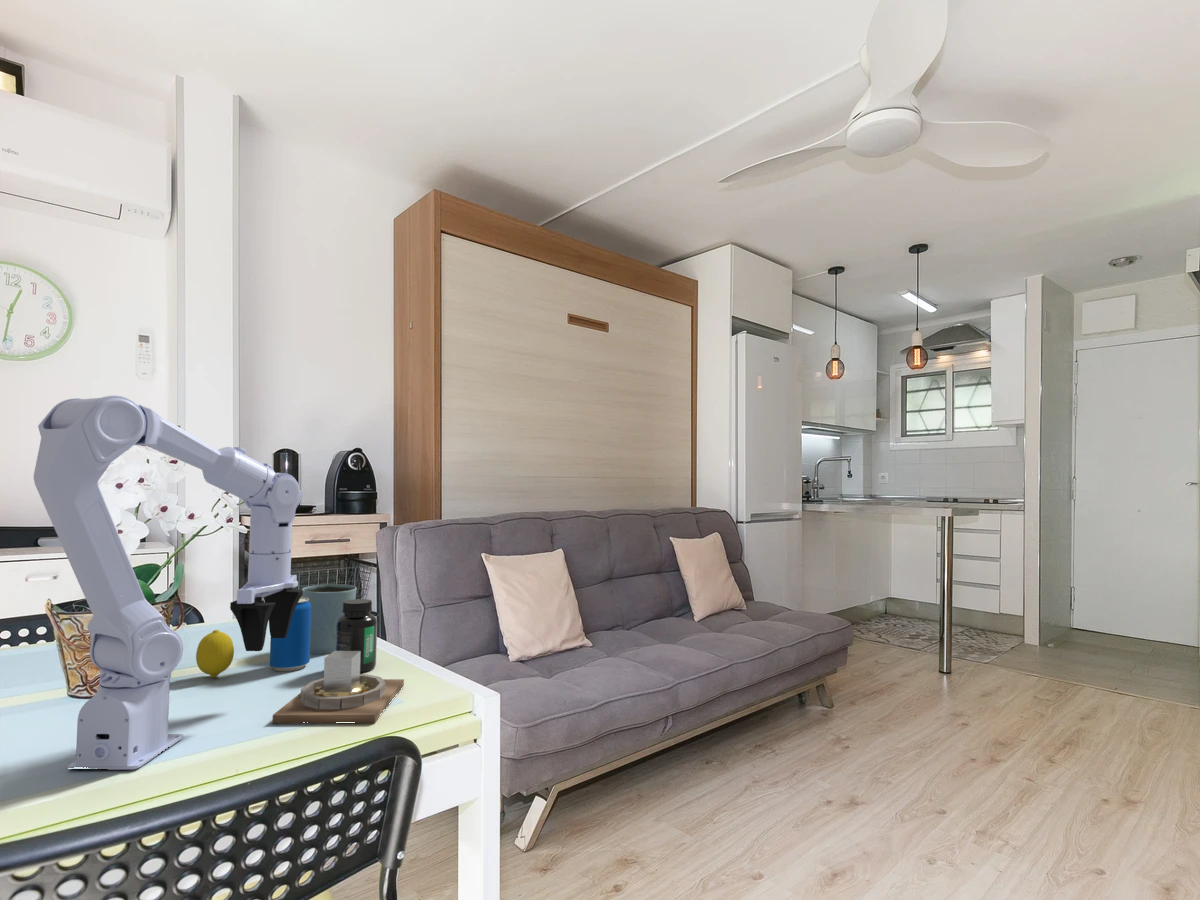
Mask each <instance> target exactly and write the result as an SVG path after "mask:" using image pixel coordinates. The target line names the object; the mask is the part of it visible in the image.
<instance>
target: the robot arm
mask: <svg viewBox="0 0 1200 900" xmlns="http://www.w3.org/2000/svg"><path fill="white" fill-rule="evenodd" d="M37 427H38V431H39V434H40V440H39V441H40V443H39V447H38V448H39V449H38V451H37V452H38V453H37V456H36V457H37V458H36V461H35V467H34V471H33V482H34V486H35V488H36V489H37V490H36V491H37V492H38V494H39V497H40V499H41V502H42V504H43V505H44V508H45V510H46V513H47V515H48V517H49V519H50V521H51V523H52V526H53V528H54V530H55V533H56V535H57V537H58V540H59V542H60V544H61V547H62V548H63V550H64V553H65V555H66V558H67V560H68V561H69V564H70V566H71V568H72V571H73V574H74V575H75V578H76V580H77V583H78V585H79V586H80V589H81V591H82V593H83V596H84V598H85V600H86V603H87V605H88V607H89V609H90V611H91V614H92V617H91V619H90V620H89V621H88V624H87V626H86V627H87V628H86V629H87V630H88V632H89V636H90V645H89V657H90V660H91V662H92V664H93V665H94V667H96V668H98V669H99V671H100V672H99V673H100V674H99V686H98V688H97V691H96V693H95V694H94V696H92V697H91V698H90V699H88V700H87V701H85V703H84V704H83V705H82V706H81V708H80V709H79V712H78V715H77V726H76V727H77V728H76V750H75V760H74V761H73V762H71V763H70V764H68V765H67V769H68V768H74V767H83V768H84V767H86V768H87V767H88V768H97V769H108V771H110V770H111V771H112V770H113V771H115V770H118V771H119V770H120V771H121V770H124V771H127V770H137V769H140V767H142V766H144V765H145V764H147V763H148V762H150V761H151V760H153V759H154V758H156V757H157V756H158V754H159V755H160V754H162V753H163V752H165V751H166V750H167V749H169V748H170V747H172V746H173V745H175V744H176V743H178V742H179V741H181V740H182V739H183V738H184V734H182V733H169V710H170V709H169V708H170V707H169V706H170V684H171V683H170V682H171V679H172V672H173V671H174V670H176V669H177V666H178V665H179V663H180V662H181V660H182V657H183V653H184V643H183V640H182V638H181V636H180V634H179V633H177V632H176V631H175V630H173V629H172V628H171V627H170V626H168V624H167V622H166V620H165V618H164V616H163V615H162V613H161V612H160V611H158V610H157V609H156V608H155V607H154V606H153V605H152V604H151V603H150V602H148V600H147V599H146V597H145V594H144V592H143V590H142V587H141V586H140V583H139V581H138V578H137V576H136V573H135V571H134V569H133V567H132V563H131V561H130V559H129V557H128V554H127V551H126V549H125V547H124V544H123V542H122V539H121V537H120V535H119V532H118V530H117V527H116V526H115V522H114V520H113V518H112V516H111V513H110V511H109V508H108V506H107V505H108V504H107V503H106V500H105V499H104V496H103V493H102V492H101V488H100V486H99V480H100V479H101V477H102V476H103V475H104V473H105V472H106V470H107V469H108V467H110V465H111V464H112V463H113V462H114V461H116V460H117V459H118V458H119V457H120V456H123V454H124V453H126V452H127V451H129V449H131V448H132V447H133V446H144V447H145V446H146V447H148V448H150V449H153V450H155V451H158V452H160V453H163V454H164V455H166V456H170V457H172V458H173V459H176V460H178V461H181V462H184V463H185V464H188V465H190V466H192V467H194V468H197V469H199V470H201V472H202V475H203V479H204V480H205V482H206V483H208V484H210V485H212V486H214V487H215V488H218V489H221V490H222V491H224V492H226V493H229V494H231V495H233V496H235V497H237V498H239V499H241V500H242V501H243V503H244V504H245V506H246V507H247V508H248V509H250V515H249V516H250V517H249V519H250V520H249V539H248V541H249V543H248V547H249V548H248V566H247V567H248V570H247V582H245V584H244V585H243V586H242V587H241V588H239V589H237V592H236V593H237V594H236V599H235V600H234V601H231V602H230V604H229V605H230V606H229V609H230V611H231V613H233V615H234V617H235V619H236V620H237V621H236V622H237V623H238V625H239V628H240V632H241V635H242V637H241V638H242V640H243V644H244V648H245V651H246V652H261V651H263V649H264V646H265V642H266V641H265V640H266V634H267V628H269V629H268V630H269V635H270V639H271V638H286V636H287V633H288V630H289V626H290V622H291V619H292V615H293V612H294V610H295V607H296V605H297V603H298V601H299V599H300V598H301V597H302V594H303V590H302V589H303V588H296V587H298V585H299V581H298V579H297V578H298V577H297V574H291V571H292V570H291V568H292V567H291V565H292V547H293V542H292V541H293V521H294V519H295V518H296V510H297V508H298V506H299V505H300V503H301V502H302V499H303V495H304V491H302V490H301V486H300V484H299V482H298V481H297V480H296V478H295V476H293V475H291V474H289V473H286V472H275V470H274V469H273V465H271V464H269V463H264V462H263V463H262V462H260V461H257V460H256V459H254V458H252V457H250V456H249V455H247V449H244V448H243V447H240V446H235V447H234V446H233V447H231V446H225V447H221V448H219V449H217V448H215V447H214V446H211V445H210V444H208V443H206V442H205V441H203V440H202V439H200V438H198V437H196V436H195V435H193V434H191V433H189V431H187V430H185V429H183V428H181V427H180V426H178V425H176V424H174V423H173V422H171V421H169V420H168V419H166V418H165V417H163V416H162V415H160V414H158V413H157V412H156V411H154V410H153V409H152V408H150V407H147V406H144V405H142V404H138V403H136V402H135V401H134V400H132V399H130V398H128V397H125V396H122V395H107V396H102V397H93V398H92V397H91V398H68V399H65V400H62V401H60V402H58V403H57V404H55V405H54V406H53V407H52V408H51V410H50V411H49V412H48V413H47V414H46V416H45V417H44V418H43V419H42V420H41V422H40V423H38V426H37ZM185 437H186V438H185ZM168 747H169V748H168ZM165 749H166V750H165ZM162 751H163V752H162ZM161 752H162V753H161Z"/></svg>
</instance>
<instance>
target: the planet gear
mask: <svg viewBox="0 0 1200 900" xmlns="http://www.w3.org/2000/svg"><path fill="white" fill-rule="evenodd" d="M360 654H361V651H334V652H332V653H329V654H328V655H326V657H324V663H323V665H324V666H323V678H324V686H322V687H316V688H315V692H314V695H317V696H321V697H343V696H350V695H356V694H361V693H364V692H367V691H369V687H368V683H367V682H365V681H364V682H360V674H361V673H360Z"/></svg>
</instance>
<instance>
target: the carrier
mask: <svg viewBox="0 0 1200 900" xmlns="http://www.w3.org/2000/svg"><path fill="white" fill-rule="evenodd" d="M364 681H365V682H367V683H368V687H369V691H367V692H364V693H361V694H356V695H350V696H343V697H321V696H317V695H314V692H315V688H316V687H322V686H324V677H323V678H319V679H318V678H317V679H315V680H311V681H310V682H308V683H307V684H305V685H304V686H303V687H302V688H301V689H300V692H299V693H298V694H297V695H296V696H295V697H293V698H292V699H291V700H290V701H289V702H287V703H286V704H285V705H284V706H282V707H281V708H280V709H278V710H277V711H276V712H275V713H273V714H272V723H303V722H305V723H307V722H308V723H336V722H355V723H359V725H360V724H363V725H364V724H365V725H366V724H376V722H377V721H378V720H379V719H380V717H381V716H380V714H381V713H382V712H383V710H384V709H385V708H386V707H387V706H388V705H389V703H390V702H391V701H392V699H393V698H394V697H395V695H396V694H397V693H398V692H399V691H400V690H401V688H402V687H403V686H404V685H405V679H404V678H401V679H400V678H397V679H394V678H393V679H392V678H391V679H389V678H387V679H384V678H382V677H381V676H378V675H372V674H368V673H367V674H366V673H360V682H364ZM404 687H405V686H404ZM404 687H403V688H404ZM403 688H402V689H403ZM401 691H402V690H401ZM401 691H400V692H401ZM400 692H399V693H400ZM399 693H398V694H399ZM395 698H396V697H395ZM395 698H394V699H395ZM392 702H393V701H392ZM392 702H391V703H392ZM391 703H390V704H391ZM389 706H390V705H389ZM389 706H388V707H389ZM388 707H387V708H388ZM383 713H384V712H383ZM379 716H380V717H379ZM378 718H379V719H378ZM272 723H271V724H272Z"/></svg>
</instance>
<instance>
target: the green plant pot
mask: <svg viewBox="0 0 1200 900" xmlns="http://www.w3.org/2000/svg"><path fill="white" fill-rule="evenodd" d="M301 589H302V590H303V594H302V596H301V597H306V598H308V599H309V600H308V601H309V603H310V604H311V630H310V655H327V654H328V655H329V654H331V653H332V652H334V651H336V625H337V621H338V620H339V618H341V617H342V616H344V613H343V612H342V610H343V602H344V601H347V600H352V599H356V596H357V586H355V585H351V584H342V583H340V584H338V583H329V584H328V583H327V584H325V583H324V584H317V585H310V586H304V587H303V588H301Z"/></svg>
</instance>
